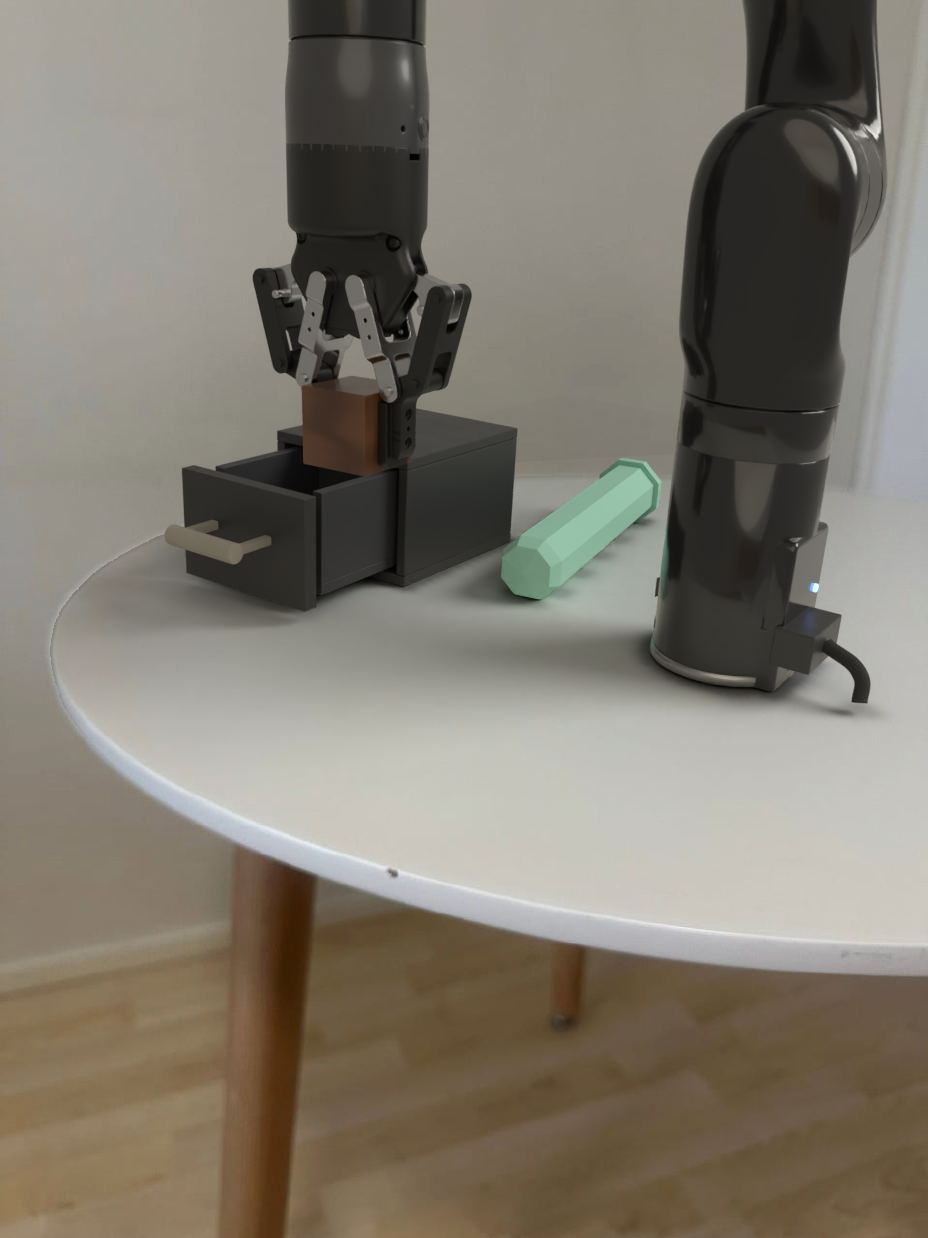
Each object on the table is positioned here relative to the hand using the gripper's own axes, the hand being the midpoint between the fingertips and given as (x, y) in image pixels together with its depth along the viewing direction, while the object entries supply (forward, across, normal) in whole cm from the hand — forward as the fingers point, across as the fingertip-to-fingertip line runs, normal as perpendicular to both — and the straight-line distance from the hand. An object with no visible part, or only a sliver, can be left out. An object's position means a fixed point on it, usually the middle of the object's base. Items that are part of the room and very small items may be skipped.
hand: (358, 456), depth 67 cm
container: (+14, 0, +28) cm, 31 cm away
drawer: (+12, -13, +8) cm, 19 cm away
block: (0, 0, 0) cm, 0 cm away
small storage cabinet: (+13, -12, +21) cm, 27 cm away
